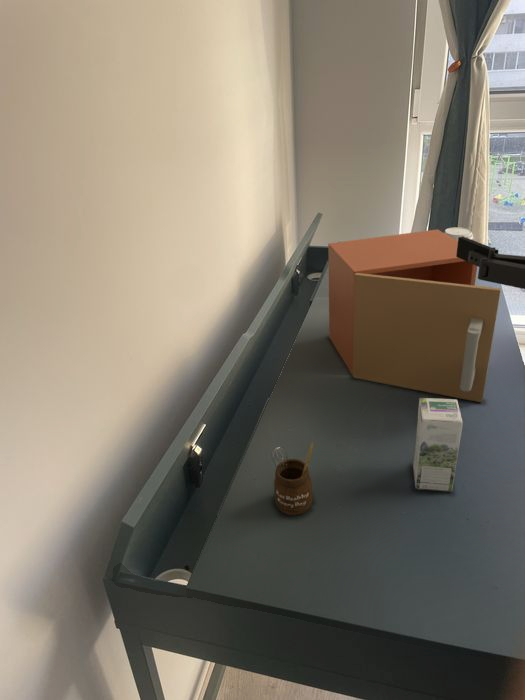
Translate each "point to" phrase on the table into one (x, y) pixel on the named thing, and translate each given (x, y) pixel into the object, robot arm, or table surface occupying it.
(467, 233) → the supplement can
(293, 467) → the utensil holder
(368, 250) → the cabinet
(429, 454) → the syrup box
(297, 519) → the table surface
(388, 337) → the cabinet door
